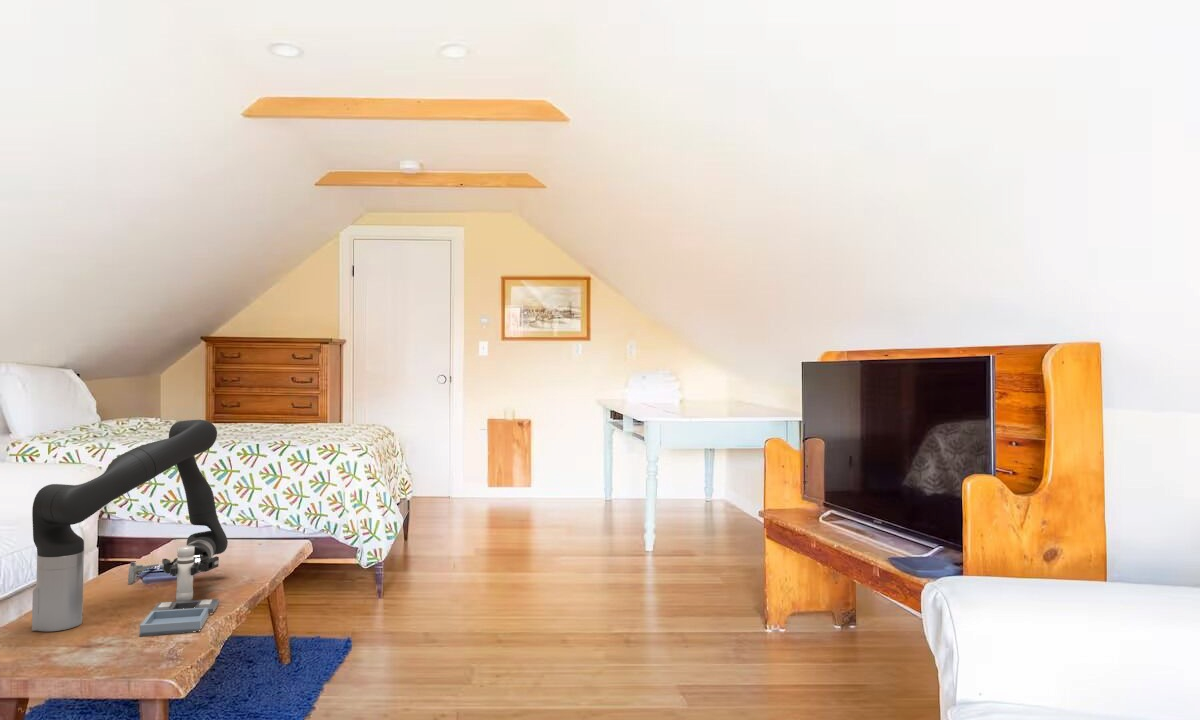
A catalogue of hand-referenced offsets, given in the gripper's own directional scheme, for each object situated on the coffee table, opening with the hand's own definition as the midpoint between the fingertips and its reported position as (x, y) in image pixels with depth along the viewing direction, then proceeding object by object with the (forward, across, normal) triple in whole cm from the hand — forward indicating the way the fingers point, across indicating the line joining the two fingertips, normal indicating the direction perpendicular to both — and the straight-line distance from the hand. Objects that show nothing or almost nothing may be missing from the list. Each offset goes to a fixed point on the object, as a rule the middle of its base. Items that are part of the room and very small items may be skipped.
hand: (183, 571), depth 198 cm
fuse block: (-3, 0, +11) cm, 11 cm away
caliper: (-43, -18, +11) cm, 48 cm away
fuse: (-3, 0, +8) cm, 8 cm away
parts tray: (+9, 0, +11) cm, 14 cm away
